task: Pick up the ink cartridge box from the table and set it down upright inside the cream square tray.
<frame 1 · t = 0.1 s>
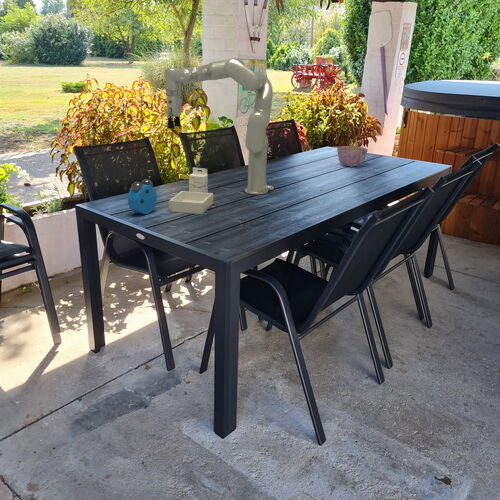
hand: (174, 127, 261), 31 cm above the table, tool pointing down, fingers open, 9 cm apart
ink cartridge box: (198, 198, 251), on the table
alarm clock: (143, 213, 225), on the table
cream square tray: (191, 207, 235), on the table
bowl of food: (350, 166, 333), on the table
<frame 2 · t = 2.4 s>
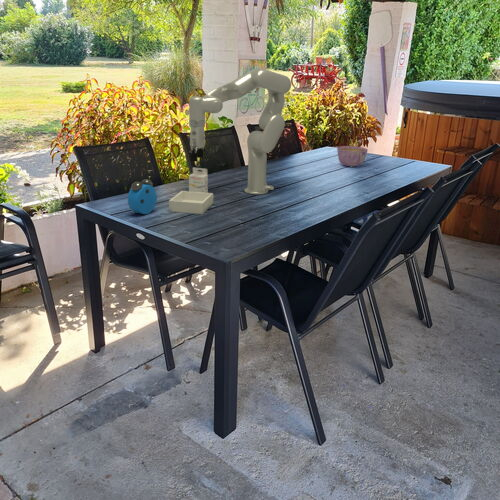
hand: (196, 159, 244), 19 cm above the table, tool pointing down, fingers open, 9 cm apart
nothing on the table moved.
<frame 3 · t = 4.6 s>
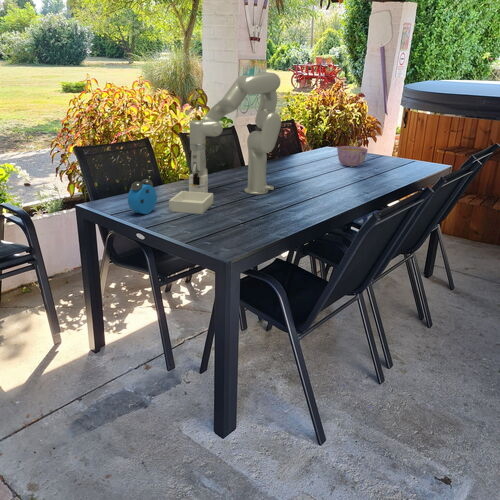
hand: (198, 183, 248), 8 cm above the table, tool pointing down, fingers closed on ink cartridge box, 5 cm apart
ink cartridge box: (198, 197, 251), on the table, touching gripper
everything else where it was.
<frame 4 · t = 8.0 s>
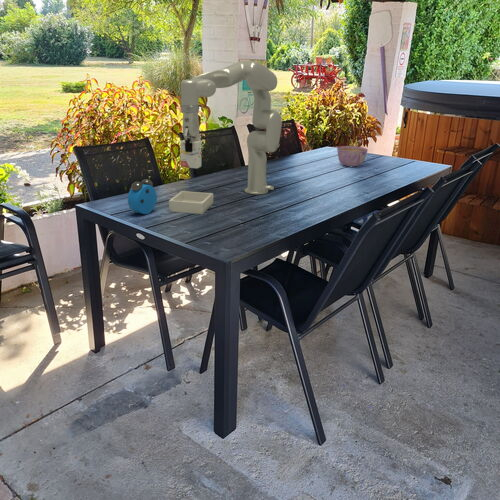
hand: (190, 150, 225), 27 cm above the table, tool pointing down, fingers closed on ink cartridge box, 5 cm apart
ink cartridge box: (191, 167, 228), point 19 cm above the table, touching gripper
everything else where it was.
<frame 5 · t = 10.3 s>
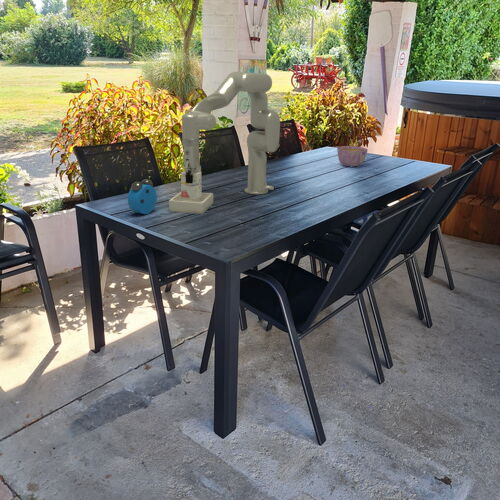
hand: (191, 181, 230), 13 cm above the table, tool pointing down, fingers closed on ink cartridge box, 5 cm apart
ink cartridge box: (191, 197, 233), point 5 cm above the table, touching gripper
everything else where it was.
when the fingers open (10 cm above the table, at t = 11.8 s): ink cartridge box drops 1 cm, resting on cream square tray.
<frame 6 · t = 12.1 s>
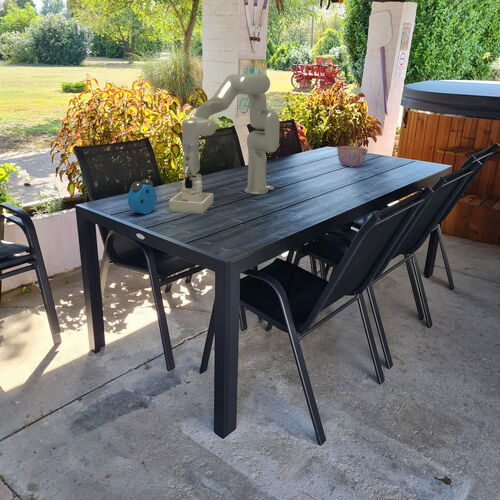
hand: (191, 185, 231), 10 cm above the table, tool pointing down, fingers open, 7 cm apart
ink cartridge box: (192, 205, 235), point 1 cm above the table, touching cream square tray
everything else where it was.
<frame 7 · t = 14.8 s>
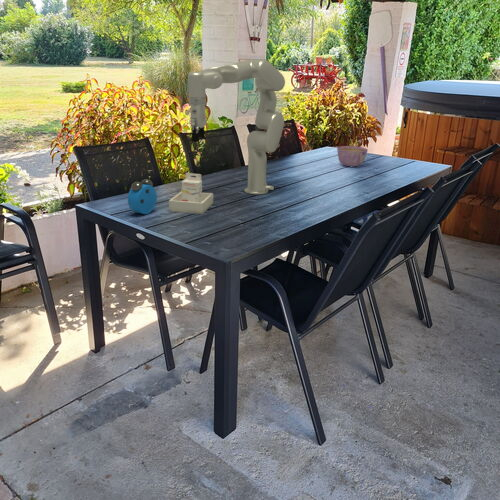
hand: (198, 139, 229), 31 cm above the table, tool pointing down, fingers open, 9 cm apart
nothing on the table moved.
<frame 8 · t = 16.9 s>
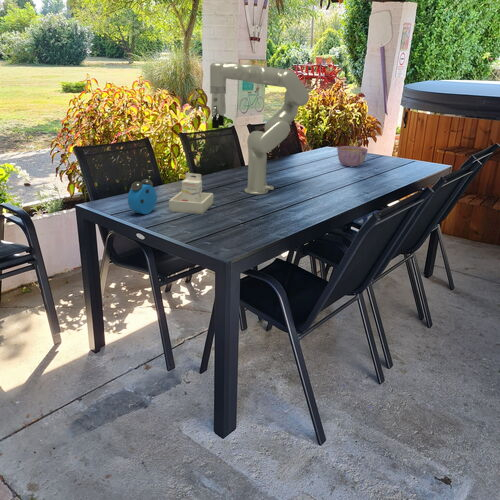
hand: (218, 127, 244), 34 cm above the table, tool pointing down, fingers open, 9 cm apart
nothing on the table moved.
at the end: ink cartridge box inside the target area on the cream square tray (0.2 cm from its centre), point 0.8 cm above the cream square tray's base; ink cartridge box tilted 0°; the gripper is holding nothing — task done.
